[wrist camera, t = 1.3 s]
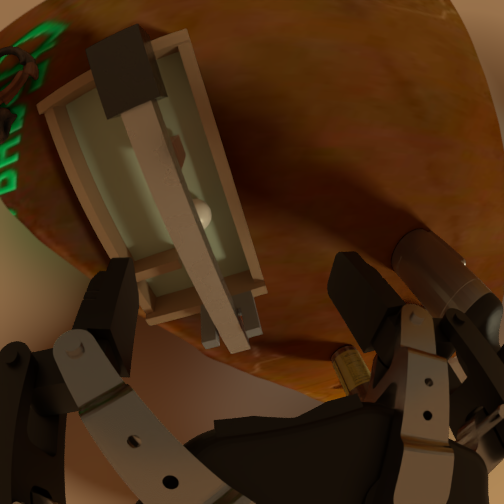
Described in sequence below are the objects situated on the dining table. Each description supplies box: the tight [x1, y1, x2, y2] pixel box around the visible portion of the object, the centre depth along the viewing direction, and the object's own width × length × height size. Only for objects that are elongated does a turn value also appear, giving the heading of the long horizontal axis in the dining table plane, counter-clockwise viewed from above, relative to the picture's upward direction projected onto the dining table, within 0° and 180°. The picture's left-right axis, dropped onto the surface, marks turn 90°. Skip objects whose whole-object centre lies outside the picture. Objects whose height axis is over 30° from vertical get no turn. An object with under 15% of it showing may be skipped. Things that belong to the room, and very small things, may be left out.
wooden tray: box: [37, 29, 267, 349], centre depth 25 cm, size 16×30×12 cm, turn 14°
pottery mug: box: [0, 46, 39, 144], centre depth 16 cm, size 12×10×8 cm
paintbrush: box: [85, 24, 251, 354], centre depth 24 cm, size 4×33×9 cm, turn 14°
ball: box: [192, 199, 212, 229], centre depth 29 cm, size 4×4×4 cm
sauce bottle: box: [331, 346, 371, 402], centre depth 45 cm, size 7×6×20 cm
